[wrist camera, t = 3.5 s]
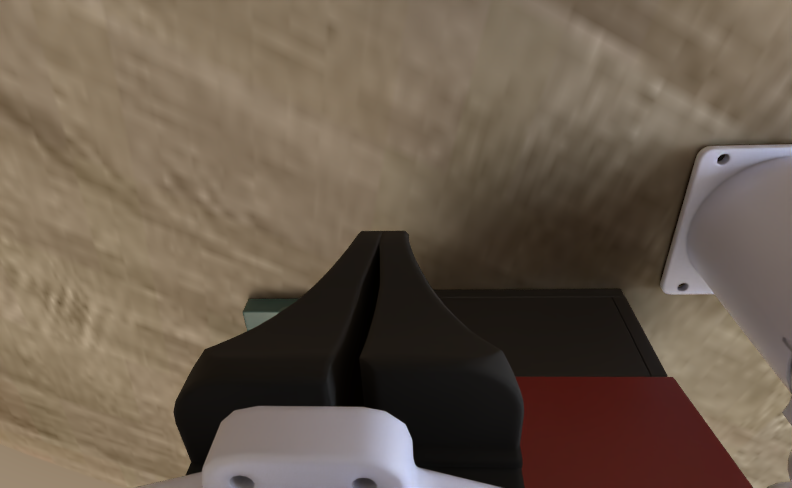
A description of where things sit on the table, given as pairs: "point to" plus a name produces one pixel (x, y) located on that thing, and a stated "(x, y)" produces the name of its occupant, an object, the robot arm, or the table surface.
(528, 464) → the lid
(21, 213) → the table surface
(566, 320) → the dark open storage box
